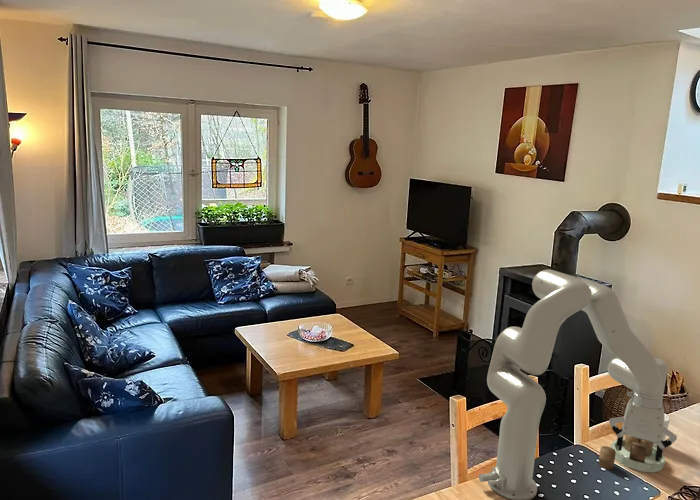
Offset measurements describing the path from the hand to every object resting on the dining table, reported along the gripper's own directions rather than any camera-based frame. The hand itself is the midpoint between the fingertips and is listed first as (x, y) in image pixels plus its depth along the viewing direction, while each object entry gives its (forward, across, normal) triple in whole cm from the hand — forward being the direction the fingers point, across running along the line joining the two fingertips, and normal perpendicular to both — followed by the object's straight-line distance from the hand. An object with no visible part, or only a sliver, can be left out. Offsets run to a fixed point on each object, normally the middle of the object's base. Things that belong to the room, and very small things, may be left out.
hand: (638, 453), depth 155 cm
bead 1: (+4, -8, -6) cm, 10 cm away
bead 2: (+2, 0, 0) cm, 3 cm away
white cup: (+4, +4, +16) cm, 16 cm away
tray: (+4, 0, +4) cm, 5 cm away
